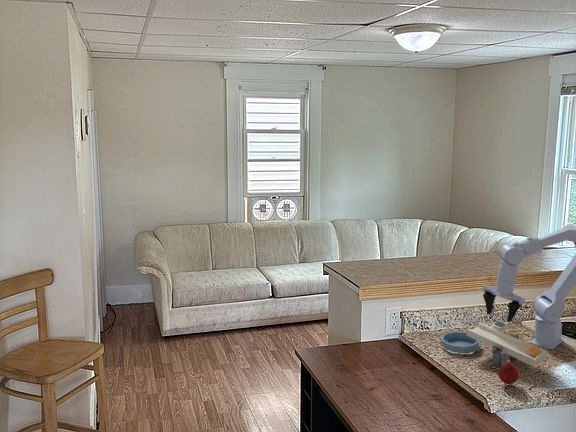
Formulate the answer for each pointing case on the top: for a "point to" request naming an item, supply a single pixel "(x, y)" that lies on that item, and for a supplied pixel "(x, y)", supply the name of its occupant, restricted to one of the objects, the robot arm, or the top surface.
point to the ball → (533, 350)
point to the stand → (497, 357)
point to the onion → (508, 373)
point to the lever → (505, 342)
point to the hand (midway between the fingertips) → (499, 317)
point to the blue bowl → (459, 342)
